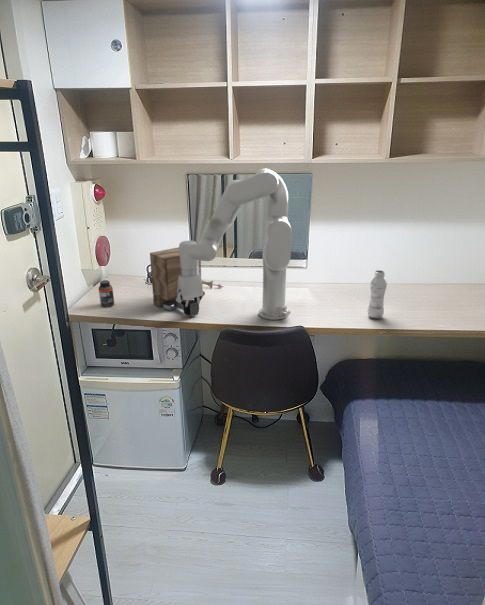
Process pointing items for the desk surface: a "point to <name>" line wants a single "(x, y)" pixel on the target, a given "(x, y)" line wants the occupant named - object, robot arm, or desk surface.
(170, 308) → the token
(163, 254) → the cabinet
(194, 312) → the grey hammer
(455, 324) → the desk surface
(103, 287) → the supplement bottle
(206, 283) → the decorative key
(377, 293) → the plastic bottle
